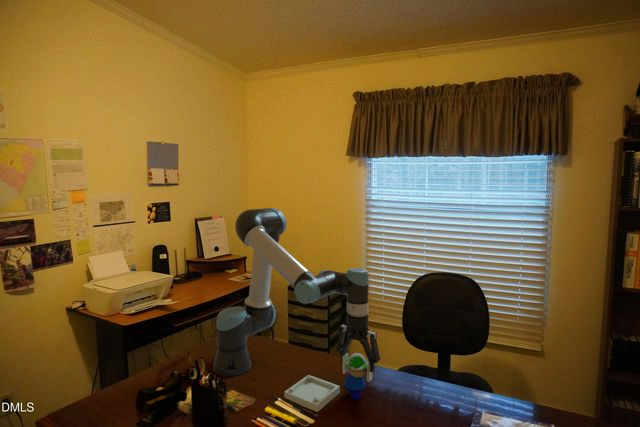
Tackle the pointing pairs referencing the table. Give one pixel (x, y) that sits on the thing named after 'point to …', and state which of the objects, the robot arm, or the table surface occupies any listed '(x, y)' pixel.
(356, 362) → the toy
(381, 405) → the table surface
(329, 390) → the base plate
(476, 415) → the table surface
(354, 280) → the robot arm
